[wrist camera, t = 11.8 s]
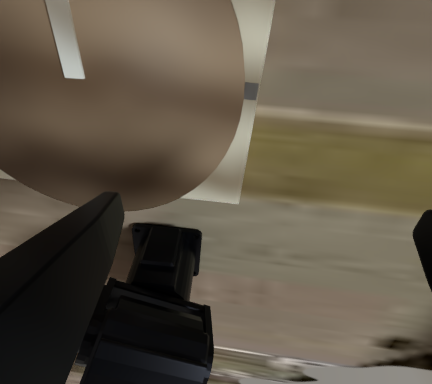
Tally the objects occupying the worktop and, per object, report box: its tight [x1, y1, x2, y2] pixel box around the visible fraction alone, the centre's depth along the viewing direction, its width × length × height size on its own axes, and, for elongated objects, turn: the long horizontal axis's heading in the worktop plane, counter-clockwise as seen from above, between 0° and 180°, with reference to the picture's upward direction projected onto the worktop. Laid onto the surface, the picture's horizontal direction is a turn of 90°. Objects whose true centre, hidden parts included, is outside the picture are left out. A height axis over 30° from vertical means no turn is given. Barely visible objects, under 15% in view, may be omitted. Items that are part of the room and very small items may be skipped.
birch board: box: [0, 0, 276, 204], centre depth 18 cm, size 20×21×2 cm
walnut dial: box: [0, 0, 245, 211], centre depth 14 cm, size 18×18×8 cm
